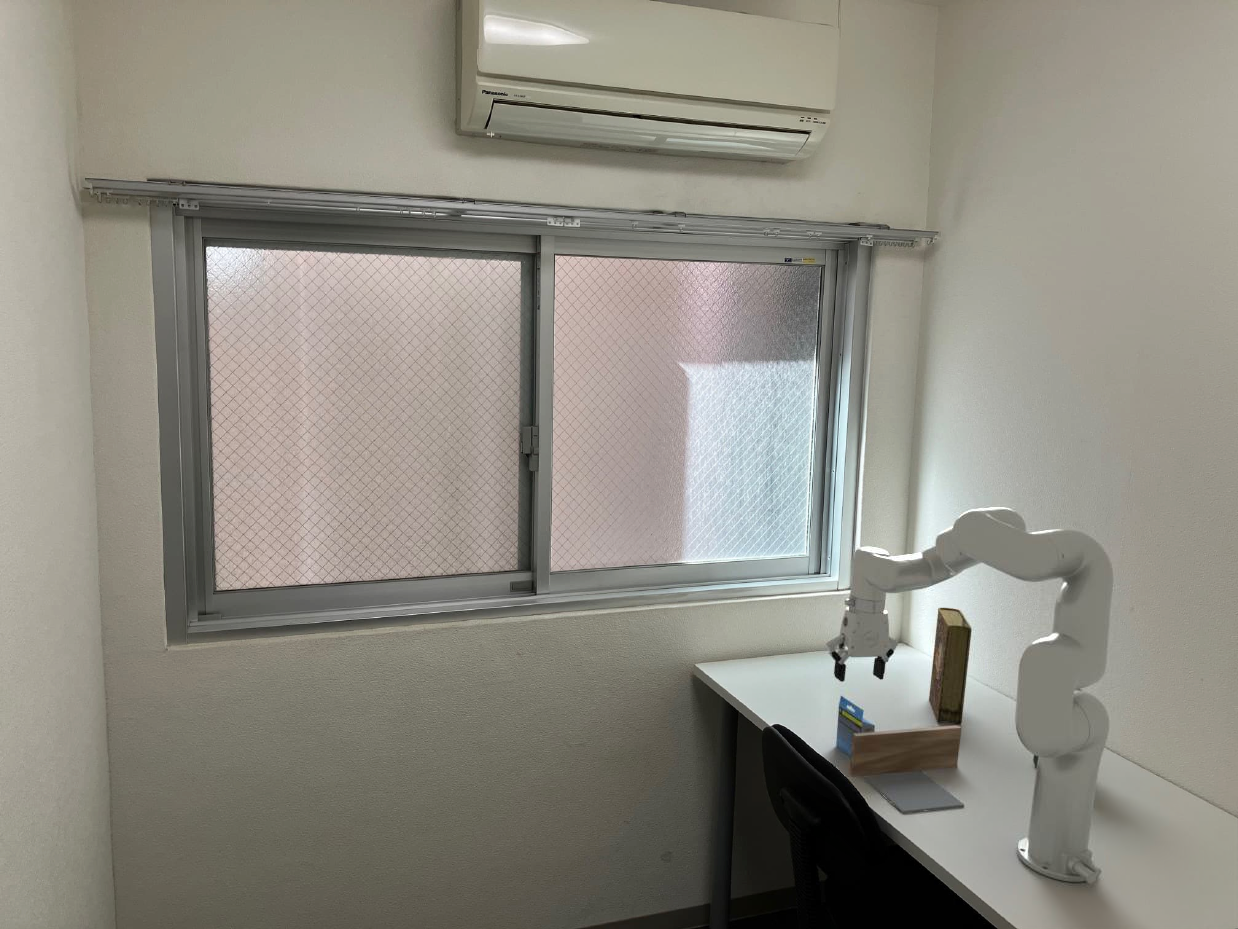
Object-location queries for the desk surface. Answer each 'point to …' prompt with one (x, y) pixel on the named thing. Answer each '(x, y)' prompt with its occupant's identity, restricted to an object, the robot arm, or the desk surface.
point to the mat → (913, 792)
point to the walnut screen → (904, 750)
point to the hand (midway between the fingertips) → (858, 678)
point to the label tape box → (850, 724)
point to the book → (950, 665)
